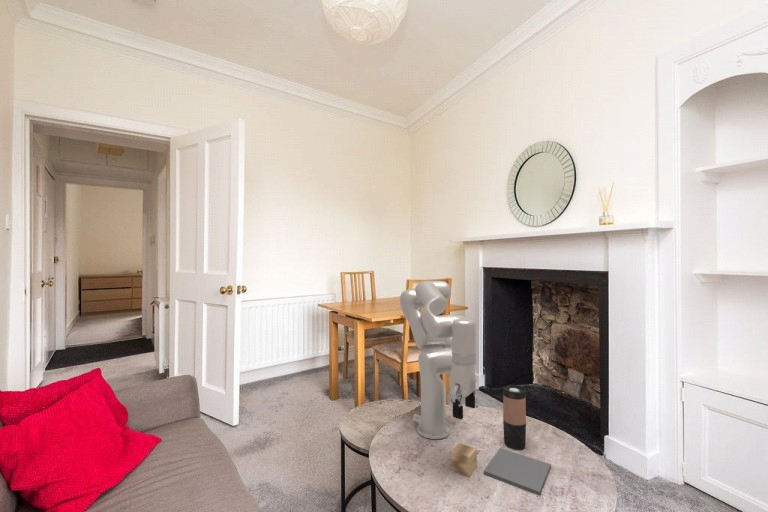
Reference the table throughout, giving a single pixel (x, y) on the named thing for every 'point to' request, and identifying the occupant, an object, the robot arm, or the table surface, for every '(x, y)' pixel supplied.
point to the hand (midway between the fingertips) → (464, 412)
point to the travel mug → (514, 417)
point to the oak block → (464, 459)
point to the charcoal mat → (518, 470)
